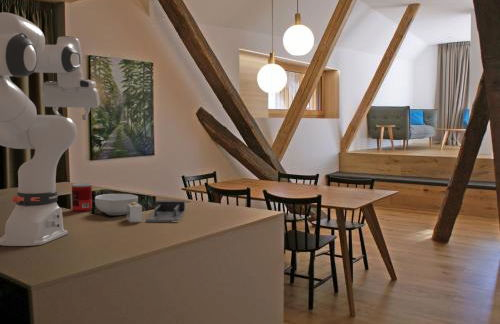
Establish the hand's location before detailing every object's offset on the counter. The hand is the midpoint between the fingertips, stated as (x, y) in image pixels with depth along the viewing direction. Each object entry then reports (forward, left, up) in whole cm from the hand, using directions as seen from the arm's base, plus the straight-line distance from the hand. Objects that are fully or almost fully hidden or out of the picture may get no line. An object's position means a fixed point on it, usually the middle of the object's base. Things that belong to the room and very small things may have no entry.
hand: (72, 119), depth 175 cm
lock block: (-2, -23, -38) cm, 45 cm away
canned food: (+17, +3, -38) cm, 42 cm away
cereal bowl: (+11, -13, -38) cm, 42 cm away
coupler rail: (+6, -34, -38) cm, 51 cm away
